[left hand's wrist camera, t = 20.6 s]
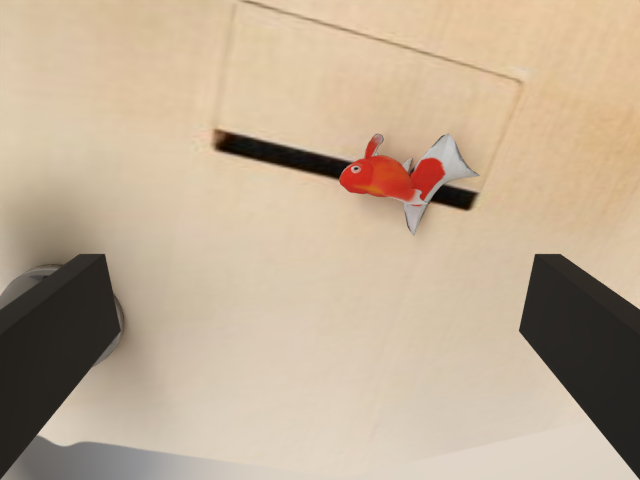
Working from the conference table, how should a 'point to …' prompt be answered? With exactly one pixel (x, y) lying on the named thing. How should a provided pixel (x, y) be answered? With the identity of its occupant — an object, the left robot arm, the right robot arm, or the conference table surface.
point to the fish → (406, 176)
